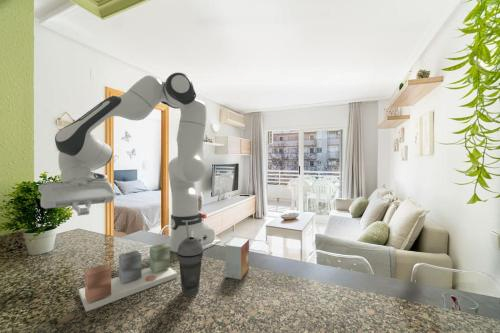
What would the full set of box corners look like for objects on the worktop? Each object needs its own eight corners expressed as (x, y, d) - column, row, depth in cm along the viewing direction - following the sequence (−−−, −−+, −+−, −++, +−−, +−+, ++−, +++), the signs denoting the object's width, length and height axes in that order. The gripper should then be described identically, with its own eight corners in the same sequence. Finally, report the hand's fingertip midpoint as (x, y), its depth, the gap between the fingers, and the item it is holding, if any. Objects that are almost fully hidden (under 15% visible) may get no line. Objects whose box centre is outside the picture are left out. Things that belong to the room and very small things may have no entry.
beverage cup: (196, 301, 61) (197, 226, 61) (171, 297, 63) (171, 225, 62) (207, 286, 69) (207, 219, 68) (184, 283, 70) (184, 218, 69)
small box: (241, 280, 72) (241, 247, 72) (224, 277, 74) (224, 244, 74) (249, 269, 80) (249, 238, 79) (234, 266, 82) (234, 237, 81)
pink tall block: (107, 288, 63) (107, 263, 63) (111, 294, 61) (110, 268, 60) (85, 296, 60) (84, 269, 60) (88, 302, 57) (87, 275, 57)
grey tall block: (136, 272, 73) (136, 250, 72) (141, 277, 70) (141, 254, 69) (119, 277, 69) (119, 254, 69) (123, 283, 66) (123, 259, 66)
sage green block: (164, 263, 79) (164, 243, 79) (169, 267, 76) (169, 246, 76) (149, 268, 75) (149, 247, 75) (154, 272, 72) (154, 250, 72)
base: (163, 266, 81) (163, 261, 81) (177, 277, 74) (177, 271, 73) (79, 294, 64) (79, 288, 64) (86, 311, 57) (85, 304, 57)
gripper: (38, 176, 72) (42, 213, 66) (111, 175, 87) (120, 204, 81) (36, 189, 75) (39, 225, 69) (107, 185, 90) (115, 215, 84)
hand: (83, 214), depth 75 cm, fingers closed
